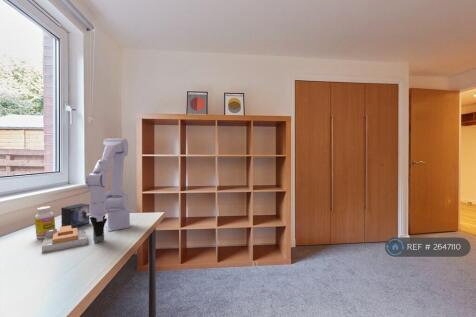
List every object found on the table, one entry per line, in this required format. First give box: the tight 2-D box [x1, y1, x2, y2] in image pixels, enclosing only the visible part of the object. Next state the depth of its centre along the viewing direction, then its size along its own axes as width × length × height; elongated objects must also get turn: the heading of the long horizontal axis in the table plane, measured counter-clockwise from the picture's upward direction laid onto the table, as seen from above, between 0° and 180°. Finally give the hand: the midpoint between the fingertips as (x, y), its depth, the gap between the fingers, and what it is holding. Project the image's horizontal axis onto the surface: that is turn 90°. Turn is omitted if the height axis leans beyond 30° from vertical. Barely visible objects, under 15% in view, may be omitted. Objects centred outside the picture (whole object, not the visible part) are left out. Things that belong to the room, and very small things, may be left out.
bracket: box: [52, 225, 78, 244], centre depth 99 cm, size 8×18×2 cm, turn 36°
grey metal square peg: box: [92, 226, 105, 243], centre depth 97 cm, size 4×4×8 cm
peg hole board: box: [41, 228, 88, 254], centre depth 96 cm, size 14×14×5 cm
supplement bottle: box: [34, 205, 56, 240], centre depth 104 cm, size 7×7×13 cm
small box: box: [60, 203, 90, 229], centre depth 119 cm, size 11×6×10 cm, turn 162°
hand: (98, 234), depth 97 cm, fingers closed on grey metal square peg, 3 cm apart
